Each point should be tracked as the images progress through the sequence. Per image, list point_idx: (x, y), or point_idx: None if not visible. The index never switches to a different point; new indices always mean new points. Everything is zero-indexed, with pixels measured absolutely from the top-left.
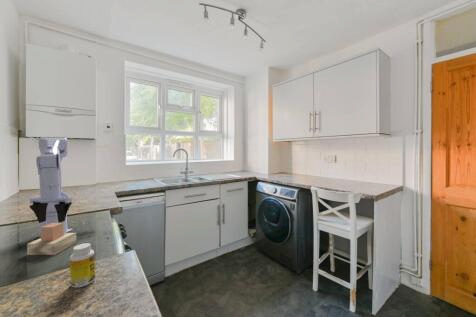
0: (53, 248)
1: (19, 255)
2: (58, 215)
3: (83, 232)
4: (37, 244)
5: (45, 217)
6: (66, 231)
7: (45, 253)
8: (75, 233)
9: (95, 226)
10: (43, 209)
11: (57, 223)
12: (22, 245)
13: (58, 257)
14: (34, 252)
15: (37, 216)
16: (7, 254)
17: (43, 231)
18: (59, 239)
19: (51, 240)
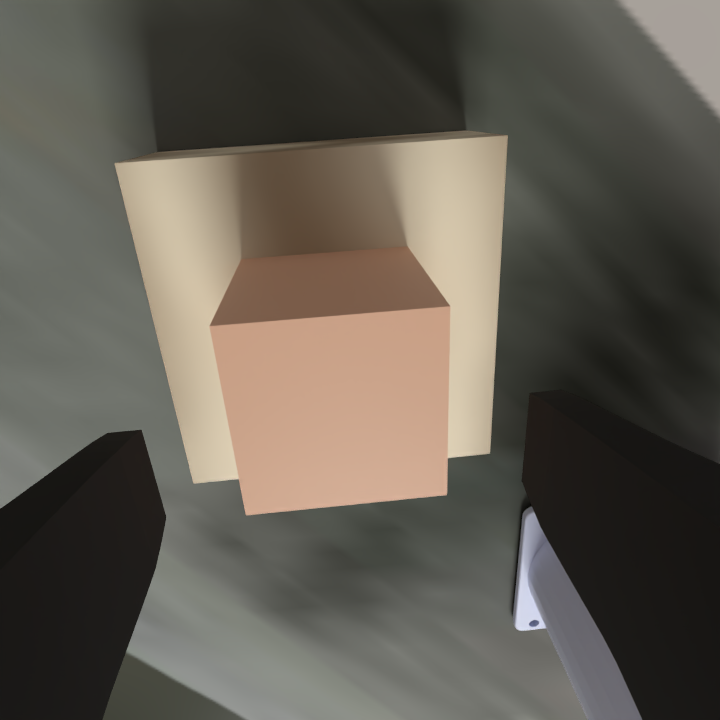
0: (145, 157)
1: (545, 114)
2: (20, 522)
3: (369, 596)
4: (355, 144)
5: (550, 530)
6: (526, 586)
7: (261, 146)
8: (193, 473)
9: (375, 694)
10: (678, 696)
11: (323, 488)
12: (714, 325)
13: (37, 91)
14: (390, 137)
15: (642, 445)
16: (698, 129)
17: (386, 287)
18: (193, 297)
19: (266, 257)
